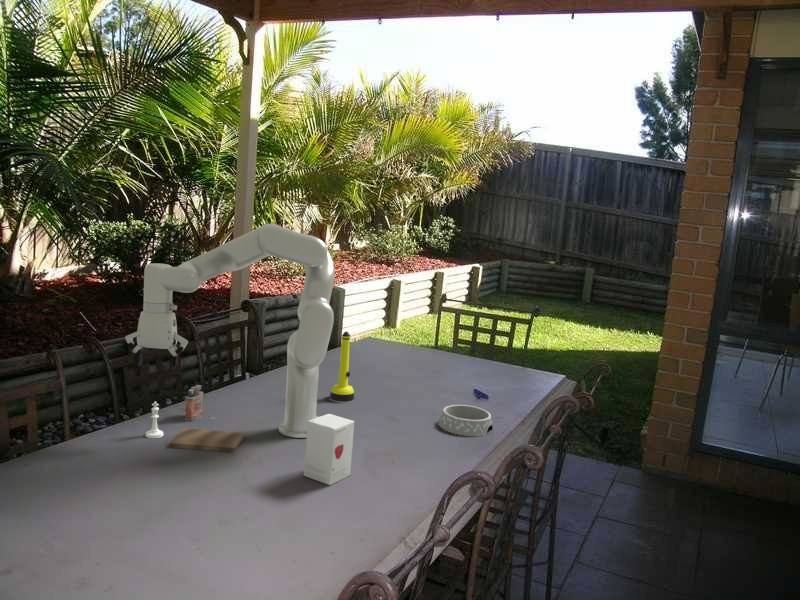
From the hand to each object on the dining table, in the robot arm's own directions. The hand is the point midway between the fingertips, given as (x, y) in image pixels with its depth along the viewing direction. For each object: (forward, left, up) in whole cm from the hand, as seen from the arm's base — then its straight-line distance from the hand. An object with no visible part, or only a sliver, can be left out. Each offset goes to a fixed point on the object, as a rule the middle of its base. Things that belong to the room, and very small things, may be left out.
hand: (155, 367), depth 183 cm
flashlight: (-50, -48, -20) cm, 72 cm away
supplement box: (-52, +19, -20) cm, 59 cm away
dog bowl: (-93, -28, -21) cm, 99 cm away
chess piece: (0, 0, -20) cm, 20 cm away
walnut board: (-16, +2, -20) cm, 26 cm away
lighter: (-6, -17, -20) cm, 27 cm away
